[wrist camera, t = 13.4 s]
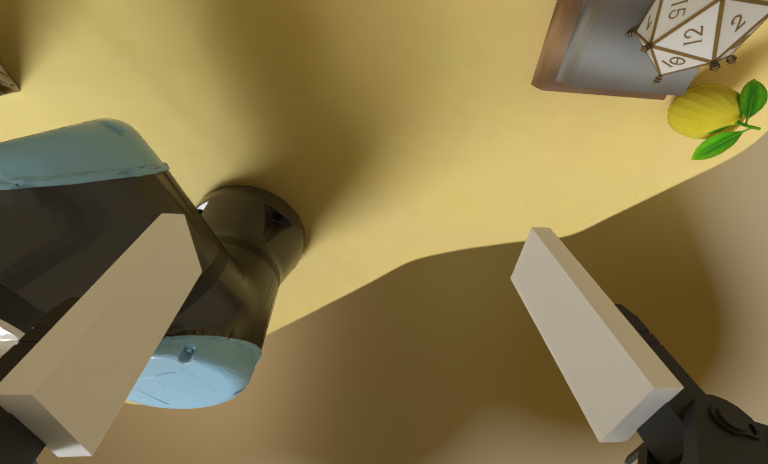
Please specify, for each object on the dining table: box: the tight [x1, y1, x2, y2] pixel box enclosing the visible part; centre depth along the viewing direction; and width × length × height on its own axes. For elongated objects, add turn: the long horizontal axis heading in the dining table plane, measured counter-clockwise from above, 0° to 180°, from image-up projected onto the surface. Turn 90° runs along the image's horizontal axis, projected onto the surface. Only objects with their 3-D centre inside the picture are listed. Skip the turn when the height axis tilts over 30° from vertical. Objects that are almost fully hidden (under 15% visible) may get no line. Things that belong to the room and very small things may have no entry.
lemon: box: [667, 79, 767, 160], centre depth 35 cm, size 7×6×10 cm
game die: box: [625, 0, 768, 86], centre depth 26 cm, size 9×8×10 cm
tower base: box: [531, 0, 700, 100], centre depth 31 cm, size 14×14×6 cm
